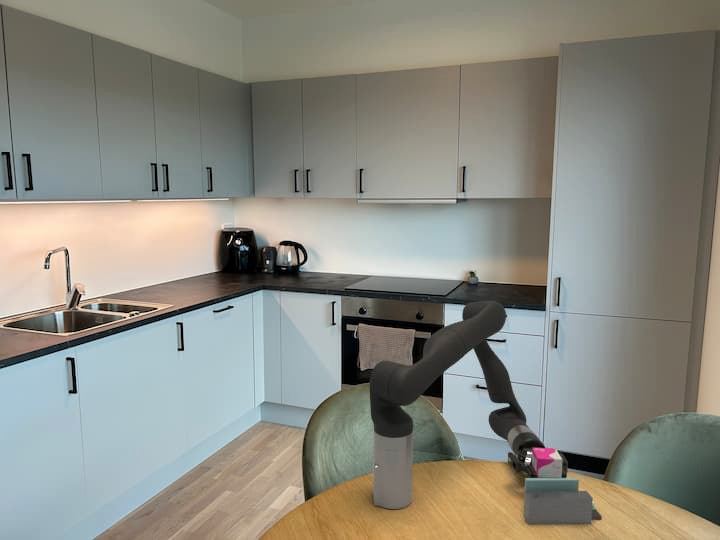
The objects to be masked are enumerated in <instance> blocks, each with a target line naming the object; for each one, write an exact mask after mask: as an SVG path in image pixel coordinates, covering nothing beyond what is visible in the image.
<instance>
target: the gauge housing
mask: <svg viewBox="0 0 720 540" xmlns="http://www.w3.org/2000/svg"><path fill="white" fill-rule="evenodd" d="M524 492H525V494H524V493H523V495H524V498H523V517H524V520H525V521H526V523H527V525H585V524H586V525H588V524H590V525H591V524H592V521H594V520H595V521H599V520H600V521H601V520H603V517H602V514H600V512H599V511H598V510H597V508H596V507H595V505H594V506H592V502H594V501H593V499H594V498H593V497H592V495H591V494H590V493H589V492H588V491H587V490H578V491H525V490H524Z"/></svg>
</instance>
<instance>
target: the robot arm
mask: <svg viewBox="0 0 720 540" xmlns="http://www.w3.org/2000/svg"><path fill="white" fill-rule="evenodd" d="M461 317H462V320H460V321H457V322H454V323H451V324H448V325H446V326H444V327H441V328H440V329H438V330H437V331H436V332H434V333H433V334H432V335H430V336H429V337H428V338H427V339H426V341H425V343H424V345H423V349H422V350H423V352H422V358H420V360H418V361H417V362H416V363H413V364H409V365H408V364H403V363H399V362H395V361H391V360H381V361H379V362H377V363H376V364H375V365H374V367H373V369H372V371H371V374H370V378H369V404H370V418H371V421H372V424H373V456H372V496H373V505H374V506H377V507H378V506H379V507H381V508H384V509H388V510H390V509H391V510H399V509H404V508H406V507H408V506H409V505H410V504H411V503H412V501H413V468H414V467H413V463H414V461H413V458H414V457H413V455H414V454H413V453H414V420H413V418H412V417H411V416H410V414H409V413H407V412H406V411H405V410H404V409H403V408H402V407H407V406H410V405H412V404H413V403H415V402H416V401H417V400H419V398H420V397H421V396H422V395H423V394H424V393H425V392H426V390H428V388H429V387H431V385H432V384H433V383H434V382H435V381H436V380H437V379H438V378H439V377H440V376H441V375H443V374H444V373H445V372H446V371H447V370H448V369H450V368H451V367H452V366H454V365H455V364H456V363H458V362H459V361H460V360H462V359H463V358H464V357H465V356H466V355H467V354H469V353H470V352H471V351H472V350H473V351H474V353H475V356H476V358H477V360H478V362H479V365H480V367H481V370H482V374H483V378H484V381H485V385H486V389H487V393H488V397H489V399H490V401H491V402H492V403H494V404H508V406H504V407H501V408H497V409H495V410H492V411H491V412H490V413H489V415H488V424H489V427H490V429H491V430H492V432H493V433H495V435H497V436H498V437H500V438H502V439H503V440H505V441H507V443H508V445H509V448H510V449H511V451H512V452H510V451H509V452H507V464H508V465H509V466H510V467H511V468H512V469H513V470H514V472H515V473H517V474H521V473H523V474H524V475H526V476H527V478H537V474H536V472H535V470H534V469H533V467H532V466H531V461H532V448H546V446H545V444H544V443H543V441H542V440H541V439H540V438H539V437H538V436H537V434H536V432H534V431H533V430H532V429H531V428H530V427H529V425H528V424H527V416H526V414H525V412H524V410H523V409H522V407H521V406H520V405H521V404H519V402H518V400H517V398H516V395H515V393H514V389H513V386H512V381H511V378H510V374H509V371H508V369H507V367H506V366H505V364H504V362H503V361H502V360H501V359H500V358H499V356H498V355H497V354H496V353H495V351H494V350H493V349H492V348H491V346H490V344H489V343H488V340H487V339H489V338H490V337H491V336H494V335H496V334H498V333H499V332H500V331H501V330H502V329H503V328H504V325H505V323H506V320H507V312H506V309H505V307H504V305H503V304H502V303H500V302H498V301H494V300H482V301H481V300H480V301H473V302H469V303H467V304H465V305H464V307H463V310H462V316H461ZM557 452H558V453H559V455H560V456H561V458H562V478H568V477H567V475H568V467H569V466H568V465H569V462H568V460H567V458H566V457H565V455H564V453H563V452H561V451H557Z"/></svg>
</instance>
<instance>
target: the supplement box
mask: <svg viewBox="0 0 720 540" xmlns="http://www.w3.org/2000/svg"><path fill="white" fill-rule="evenodd" d="M558 452H559V451H558V450H557V448H548V447H545V448H532V461H531V466H532V467H533V469H534V470H535V472H536V474H537V478H562V458H561V456H560V455H559V453H558Z"/></svg>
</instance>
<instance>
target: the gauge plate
mask: <svg viewBox="0 0 720 540" xmlns="http://www.w3.org/2000/svg"><path fill="white" fill-rule="evenodd" d="M579 483H580V480H579V478H578V477H567V478H528V477H527V478H526V477H525V478H524V493H523V495H524V494H525V491H579ZM595 505H596V504H595V502H594V501H592V506H594V507H595Z"/></svg>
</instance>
